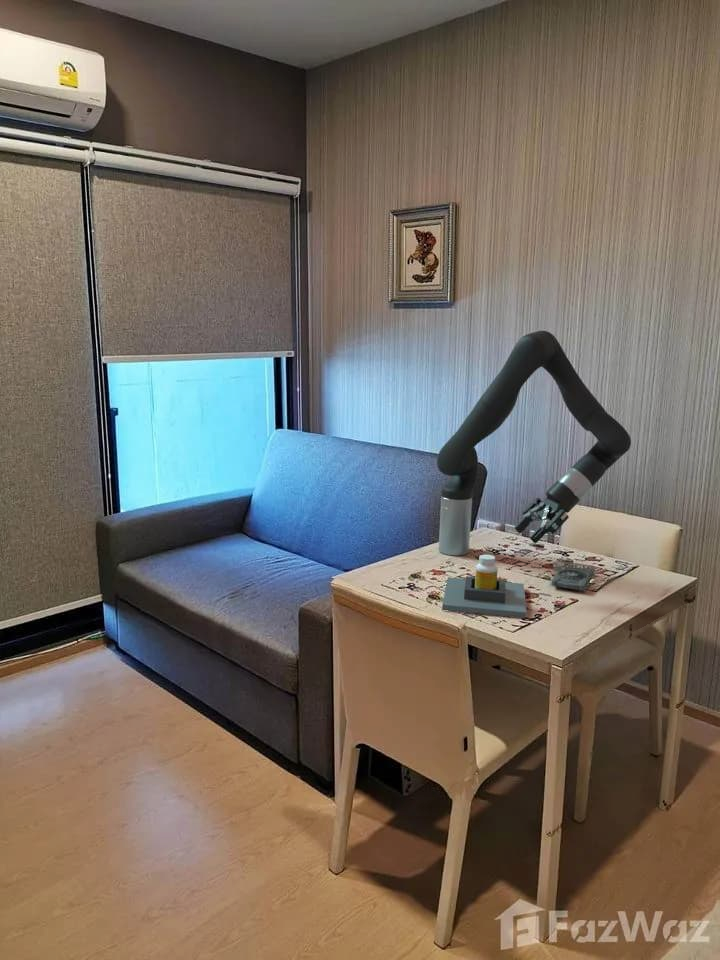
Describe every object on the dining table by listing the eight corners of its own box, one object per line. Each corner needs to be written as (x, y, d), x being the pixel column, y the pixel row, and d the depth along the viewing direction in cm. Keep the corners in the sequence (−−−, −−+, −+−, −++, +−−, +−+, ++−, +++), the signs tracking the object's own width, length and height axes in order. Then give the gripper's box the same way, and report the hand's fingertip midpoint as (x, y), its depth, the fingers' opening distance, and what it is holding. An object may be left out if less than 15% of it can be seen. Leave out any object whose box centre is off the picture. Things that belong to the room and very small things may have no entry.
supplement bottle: (496, 597, 186) (498, 560, 184) (474, 596, 187) (476, 559, 185) (495, 590, 191) (498, 554, 189) (474, 588, 192) (476, 552, 190)
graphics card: (553, 559, 213) (597, 565, 208) (553, 571, 214) (596, 577, 209) (540, 577, 198) (586, 584, 193) (539, 590, 199) (585, 597, 194)
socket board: (447, 582, 201) (448, 568, 200) (523, 589, 197) (524, 574, 196) (442, 610, 181) (442, 595, 181) (525, 618, 178) (527, 602, 177)
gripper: (546, 474, 194) (503, 518, 194) (575, 486, 181) (528, 534, 180) (563, 493, 197) (520, 537, 196) (592, 506, 183) (546, 554, 183)
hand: (524, 535), depth 188 cm, fingers open, 8 cm apart
